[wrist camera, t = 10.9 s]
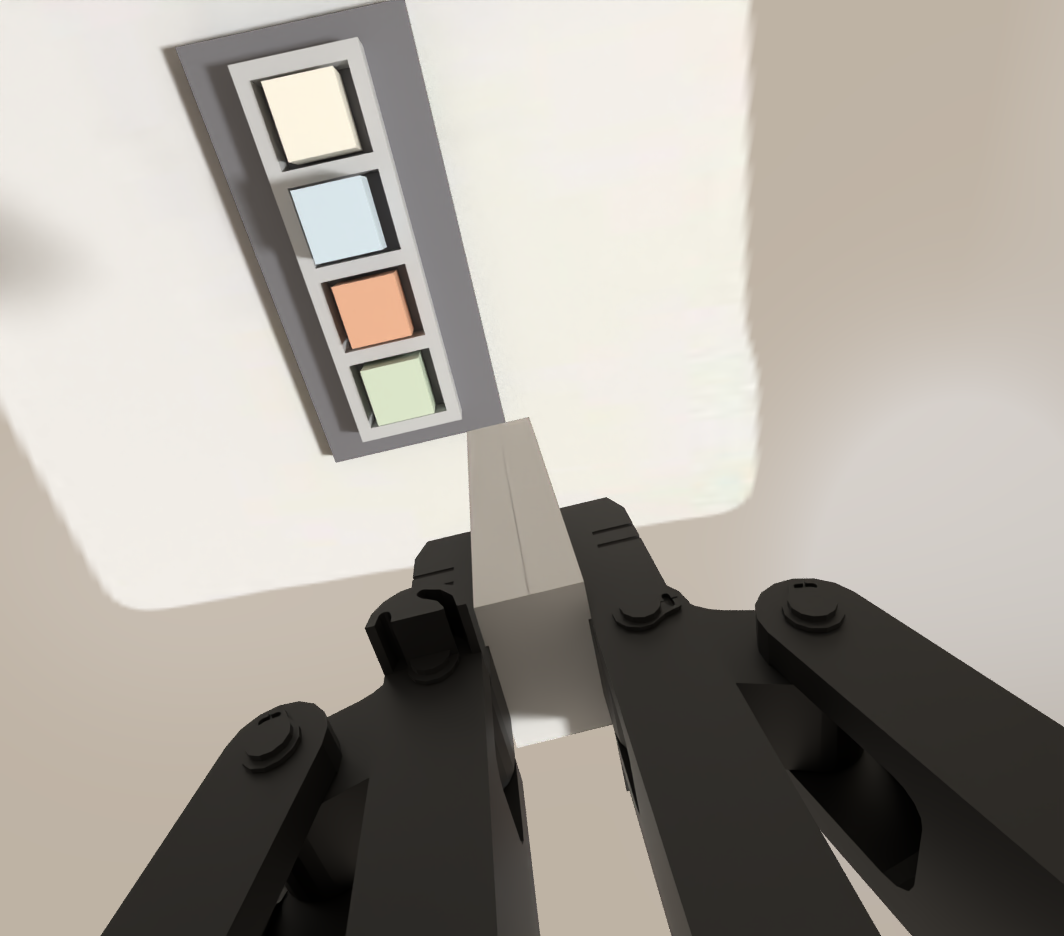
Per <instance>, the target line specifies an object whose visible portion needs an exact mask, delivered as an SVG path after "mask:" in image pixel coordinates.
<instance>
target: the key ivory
mask: <svg viewBox="0 0 1064 936" xmlns="http://www.w3.org/2000/svg"><path fill="white" fill-rule="evenodd" d="M261 83H262V86H263V89H264V92H265V95H266V98H267V101H268V104H269V107H270V110H271V112H272V115H273V118H274V121H275V124H276V127H277V130H278V133H279V136H280V139H281V142H282V145H283V148H284V150H285V153H286V156H287V159H288V162H289V163H293V164H297V165H301V164H305V163H310V162H314V161H319V160H323V159H328V158H332V157H337V156H341V155H346V154H350V153H355V152H359V151H363V150H362V147H361V143H360V140H359V136H358V133H357V129H356V126H355V122H354V119H353V116H352V112H351V109H350V105H349V102H348V98H347V95H346V91H345V88H344V85H343V81H342V78H341V75H340V73H339V72H338V71H337V70H336V69H335V68H334V67H333V66H329V67H325V68H320V69H315V70H311V71H306V72H302V73H297V74H293V75H288V76H284V77H279V78H275V79H270V80H265V81H261Z"/></svg>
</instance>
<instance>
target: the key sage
mask: <svg viewBox="0 0 1064 936" xmlns="http://www.w3.org/2000/svg"><path fill="white" fill-rule="evenodd" d="M360 373H361V376H362V379H363V382H364V385H365V388H366V391H367V394H368V397H369V399H370V402H371V405H372V408H373V411H374V414H375V417H376V420H377V423H378V426H381V425H385V424H390V423H394V422H398V421H403V420H407V419H411V418H415V417H420V416H424V415H428V414H433V413H435V404H436V402H435V398H434V395H433V391H432V388H431V385H430V381H429V378H428V374H427V371H426V367H425V364H424V360H423V357H422V354H421V350H418V351H413V352H409V353H405V354H400V355H396V356H392V357H387V358H383V359H379V360H374V361H370V362H365V364H364V366H363V367H362V369H361V371H360Z"/></svg>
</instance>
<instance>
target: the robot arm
mask: <svg viewBox="0 0 1064 936" xmlns="http://www.w3.org/2000/svg"><path fill="white" fill-rule="evenodd" d="M467 449H468V475H469V501H470V527H471V531H470V532H466V533H462V534H458V535H453V536H449V537H445V538H441V539H437V540H432V541H428V542H427V543H426V545H425V546H424V547H423V549H422V550H421V552H420V553H419V554H418V556H417V557H416V559H415V564H414V573H413V579H414V580H413V581H412V588H409V589H406V590H404V591H401V592H399V593H397V594H396V595H394V596H393V597H391V598H389V599H388V600H386V601H385V602H383V603H382V604H381V605H380V606H379V608H377V609H376V610H375V611H374V612H373V613H372V615H371V617H370V619H369V621H368V623H367V625H366V627H365V630H366V632H367V634H368V637H369V639H370V642H371V644H372V646H373V649H374V651H375V654H376V656H377V658H378V661H379V663H380V665H381V668H382V670H383V673H384V675H385V678H384V684H383V685H382V686H381V687H380V688H379V689H377V690H376V691H375V692H374V693H372V694H371V695H369V696H367V697H366V698H364V699H363V700H361V701H359V702H357V703H355V704H353V705H351V706H349V707H347V708H345V709H343V710H341V711H339V712H337V713H335V714H333V715H331V716H329V717H327V716H326V714H325V712H324V711H323V710H321V709H320V708H319V707H318V706H316V705H315V704H314V703H307V702H300V701H298V702H293V703H289V704H284V705H280V706H277V707H275V708H273V709H272V710H269V711H267V712H265V713H263V714H261V715H259V716H258V717H257V718H255V719H254V720H253V721H251V722H250V723H249V724H247V725H246V726H245V727H243V728H242V729H241V730H240V731H239V732H238V733H237V735H236V736H235V737H234V738H233V739H232V740H231V742H230V743H229V744H228V745H227V746H226V748H225V749H224V751H223V752H222V754H221V755H220V757H219V758H218V760H217V761H216V763H215V764H214V766H213V767H212V769H211V770H210V772H209V773H208V775H207V776H206V778H205V779H204V781H203V782H202V784H201V785H200V787H199V788H198V790H197V791H196V793H195V794H194V796H193V797H192V799H191V800H190V802H189V803H188V805H187V806H186V808H185V809H184V811H183V813H182V814H181V815H180V817H179V819H178V820H177V822H176V823H175V824H174V826H173V828H172V829H171V830H170V832H169V834H168V835H167V837H166V838H165V840H164V841H163V843H162V844H161V846H160V847H159V849H158V850H157V852H156V853H155V855H154V856H153V858H152V859H151V861H150V862H149V864H148V866H147V867H146V868H145V870H144V871H143V873H142V874H141V876H140V877H139V879H138V880H137V882H136V883H135V885H134V886H133V888H132V889H131V891H130V892H129V894H128V895H127V897H126V898H125V900H124V901H123V903H122V904H121V906H120V908H119V909H118V910H117V912H116V914H115V915H114V916H113V918H112V919H111V921H110V923H109V924H108V926H107V927H106V929H105V930H104V931H103V933H102V935H101V936H540V931H539V922H538V913H537V904H536V897H535V887H534V879H533V870H532V861H531V852H530V844H529V835H528V826H527V817H526V809H525V800H524V791H523V784H522V783H523V782H522V779H521V775H520V772H519V769H518V766H517V763H516V759H515V753H514V743H513V736H514V740H515V743H516V746H517V748H518V747H523V746H527V745H531V744H535V743H539V742H543V741H547V740H551V739H555V738H559V737H564V736H568V735H572V734H576V733H580V732H584V731H588V730H592V729H596V728H600V727H604V726H608V725H613V727H614V731H615V735H616V740H617V745H618V750H619V755H620V760H621V765H622V770H623V775H624V780H625V785H626V790H627V791H630V794H631V797H632V801H633V804H634V808H635V811H636V814H637V818H638V821H639V825H640V828H641V831H642V835H643V839H644V842H645V845H646V849H647V852H648V856H649V859H650V863H651V866H652V870H653V873H654V877H655V880H656V883H657V887H658V890H659V894H660V897H661V901H662V904H663V908H664V911H665V915H666V918H667V922H668V925H669V929H670V932H671V935H672V936H881V935H880V933H879V932H878V930H877V928H876V926H875V925H874V923H873V921H872V920H871V918H870V916H869V914H868V913H867V911H866V909H865V907H864V905H863V904H862V902H861V900H860V899H859V897H858V895H857V893H856V892H855V890H854V888H853V886H852V885H851V883H850V881H849V880H848V878H847V876H846V874H845V872H844V871H843V869H842V867H841V866H840V864H839V862H838V860H837V859H836V857H835V855H834V853H833V852H832V850H831V848H830V846H829V845H828V843H827V841H826V839H825V838H824V836H823V834H824V835H825V836H826V837H827V838H828V840H829V841H830V842H831V843H832V844H833V845H834V847H836V849H837V850H838V851H839V852H840V853H841V855H842V856H843V857H844V858H845V859H846V860H847V861H848V863H849V864H850V865H851V866H852V867H853V868H854V870H855V871H856V872H857V873H858V874H859V875H860V876H861V878H862V879H863V880H864V881H865V882H866V883H867V884H868V886H869V887H870V888H871V889H872V890H873V891H874V892H875V894H876V895H877V896H878V897H879V898H880V899H881V900H882V902H883V903H884V904H885V905H886V906H887V907H888V909H889V910H890V911H891V912H892V913H893V914H894V915H895V916H896V918H897V919H898V920H899V921H900V922H901V924H902V925H903V926H904V927H905V928H906V929H907V931H909V933H910V934H911V935H912V936H1064V727H1063V726H1062V725H1060V724H1058V723H1057V722H1055V721H1054V720H1052V719H1051V718H1049V717H1048V716H1046V715H1044V714H1043V713H1041V712H1040V711H1038V710H1037V709H1035V708H1034V707H1032V706H1030V705H1029V704H1027V703H1026V702H1024V701H1023V700H1021V699H1020V698H1018V697H1016V696H1015V695H1013V694H1012V693H1010V692H1009V691H1007V690H1006V689H1004V688H1003V687H1001V686H999V685H998V684H996V683H995V682H993V681H992V680H990V679H988V678H987V677H985V676H984V675H982V674H981V673H979V672H978V671H976V670H975V669H973V668H972V667H970V666H968V665H967V664H965V663H964V662H962V661H961V660H959V659H957V658H956V657H954V656H953V655H951V654H950V653H948V652H946V651H945V650H944V649H942V648H941V647H939V646H937V645H936V644H934V643H933V642H931V641H930V640H928V639H927V638H925V637H923V636H922V635H920V634H919V633H917V632H916V631H914V630H913V629H911V628H910V627H908V626H906V625H905V624H903V623H902V622H900V621H899V620H897V619H896V618H894V617H892V616H891V615H889V614H888V613H886V612H885V611H883V610H881V609H880V608H879V607H877V606H875V605H874V604H872V603H871V602H869V601H867V600H866V599H864V598H863V597H861V596H860V595H858V594H857V593H855V592H853V591H851V590H849V589H847V588H845V587H842V586H840V585H838V584H836V583H833V582H828V581H823V580H819V579H790V580H787V581H783V582H779V583H776V584H773V585H772V586H770V587H769V588H767V589H766V590H765V591H763V592H762V593H761V594H760V596H759V598H758V600H757V602H756V604H755V610H739V611H738V610H712V609H706V608H702V607H698V606H694V605H692V604H690V603H689V601H688V600H687V599H686V598H685V597H684V596H683V595H682V594H681V593H680V592H679V591H677V590H675V589H673V588H671V587H669V586H667V585H666V583H665V582H664V580H663V578H662V576H661V574H660V573H659V571H658V569H657V567H656V565H655V564H654V561H653V560H652V558H651V556H650V554H649V552H648V551H647V549H646V547H645V545H644V543H643V541H642V540H641V538H639V534H638V532H637V530H636V529H635V527H634V526H633V524H632V521H631V519H630V518H629V516H628V514H627V512H626V510H625V508H624V507H622V506H621V505H619V504H617V503H615V502H614V501H612V500H610V499H609V498H607V497H605V498H601V499H597V500H593V501H589V502H584V503H580V504H576V505H572V506H568V507H563V508H559V505H558V502H557V499H556V496H555V493H554V490H553V487H552V484H551V481H550V478H549V475H548V472H547V469H546V466H545V463H544V460H543V457H542V454H541V451H540V448H539V445H538V442H537V439H536V436H535V433H534V430H533V427H532V424H531V421H530V418H529V417H527V418H523V419H519V420H514V421H510V422H506V423H501V424H497V425H493V426H489V427H484V428H480V429H476V430H471V431H467ZM512 733H513V734H512ZM820 830H821V831H820ZM821 832H822V833H823V834H822V833H821Z"/></svg>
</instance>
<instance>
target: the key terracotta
mask: <svg viewBox="0 0 1064 936" xmlns="http://www.w3.org/2000/svg"><path fill="white" fill-rule="evenodd" d="M331 288H332V291H333V294H334V297H335V300H336V303H337V306H338V309H339V312H340V315H341V317H342V320H343V323H344V326H345V329H346V332H347V335H348V338H349V341H350V344H351V347H352V349H355V348H359V347H363V346H368V345H372V344H376V343H381V342H385V341H389V340H394V339H398V338H403V337H407V336H411V335H412V333H413V330H414V326H413V322H412V319H411V316H410V312H409V309H408V305H407V302H406V298H405V295H404V291H403V288H402V285H401V281H400V278H399V274H398V271H397V269H396V270H392V271H387V272H383V273H379V274H374V275H370V276H365V277H361V278H357V279H352V280H348V281H343V282H339V283H337V284H336V285H334V286H333V287H331Z"/></svg>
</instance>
